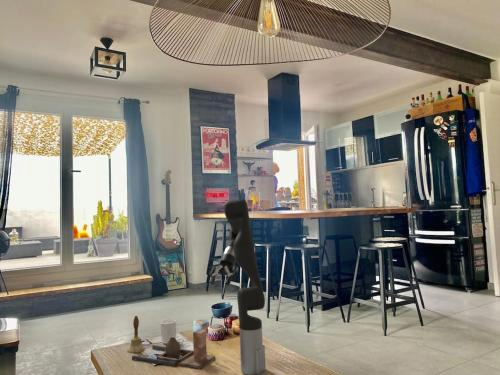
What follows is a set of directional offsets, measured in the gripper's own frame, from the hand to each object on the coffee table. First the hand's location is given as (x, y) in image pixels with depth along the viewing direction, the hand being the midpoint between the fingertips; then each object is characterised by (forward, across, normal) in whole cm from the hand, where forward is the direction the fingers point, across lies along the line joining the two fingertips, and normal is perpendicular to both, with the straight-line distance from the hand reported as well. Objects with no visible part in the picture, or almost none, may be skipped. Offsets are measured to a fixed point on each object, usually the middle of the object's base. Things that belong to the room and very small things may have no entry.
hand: (219, 284), depth 183 cm
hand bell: (+32, -39, +11) cm, 52 cm away
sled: (+34, -8, +8) cm, 36 cm away
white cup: (+22, -31, +21) cm, 43 cm away
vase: (+34, -15, +9) cm, 38 cm away
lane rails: (+34, -20, +8) cm, 40 cm away
